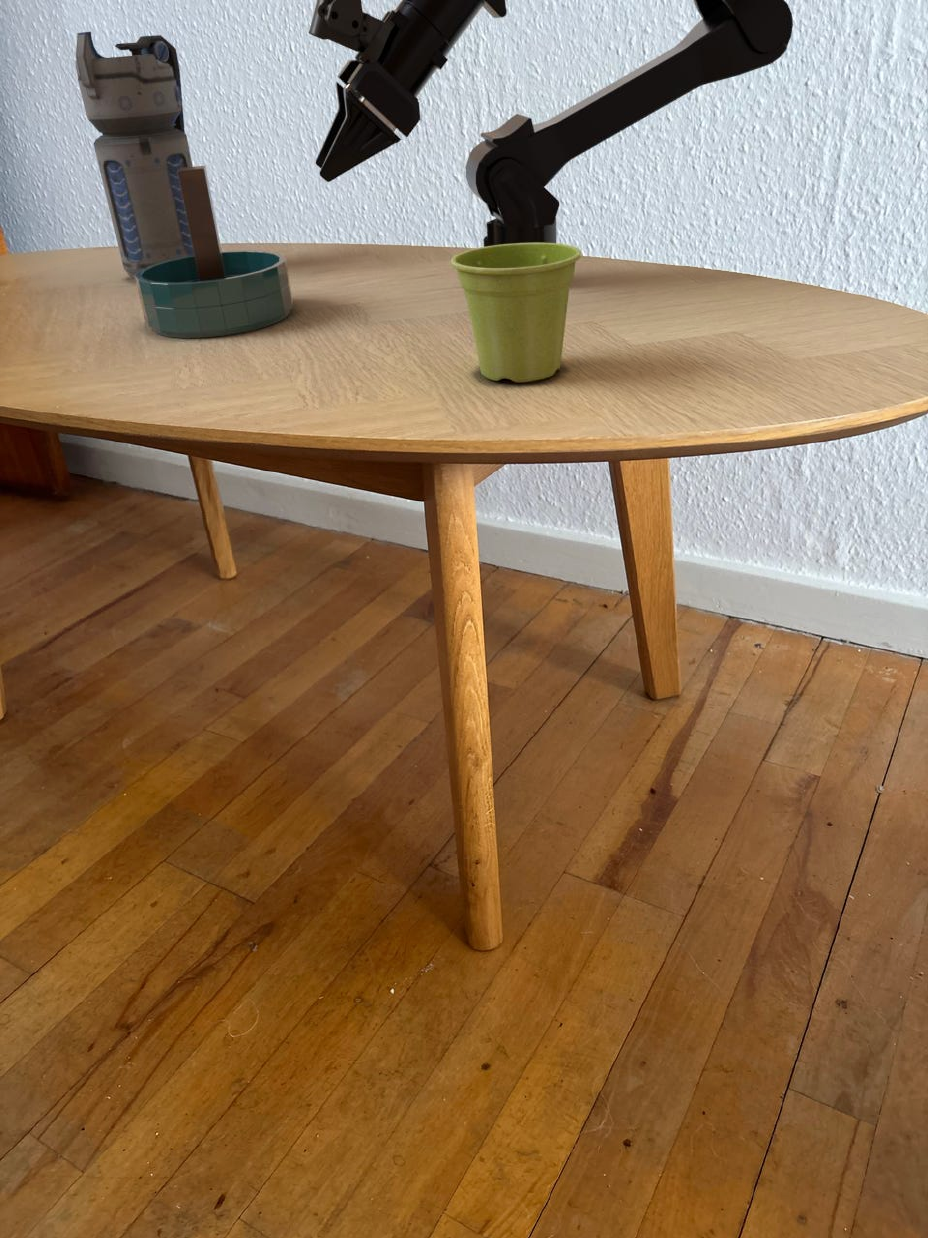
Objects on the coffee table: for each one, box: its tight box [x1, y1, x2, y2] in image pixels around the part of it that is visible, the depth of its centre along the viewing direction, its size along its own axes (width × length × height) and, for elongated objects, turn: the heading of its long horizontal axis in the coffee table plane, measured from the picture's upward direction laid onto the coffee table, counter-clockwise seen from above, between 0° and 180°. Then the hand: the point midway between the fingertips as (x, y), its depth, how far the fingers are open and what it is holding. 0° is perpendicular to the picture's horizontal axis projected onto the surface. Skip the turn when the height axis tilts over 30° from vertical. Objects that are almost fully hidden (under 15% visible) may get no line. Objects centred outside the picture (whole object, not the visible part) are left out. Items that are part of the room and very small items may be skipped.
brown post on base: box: [177, 165, 227, 281], centre depth 91 cm, size 5×5×13 cm
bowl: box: [134, 249, 294, 339], centre depth 94 cm, size 14×14×5 cm
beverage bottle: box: [75, 31, 194, 279], centre depth 109 cm, size 10×13×25 cm
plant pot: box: [450, 243, 582, 383], centre depth 72 cm, size 9×9×9 cm
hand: (321, 172), depth 90 cm, fingers open, 9 cm apart
